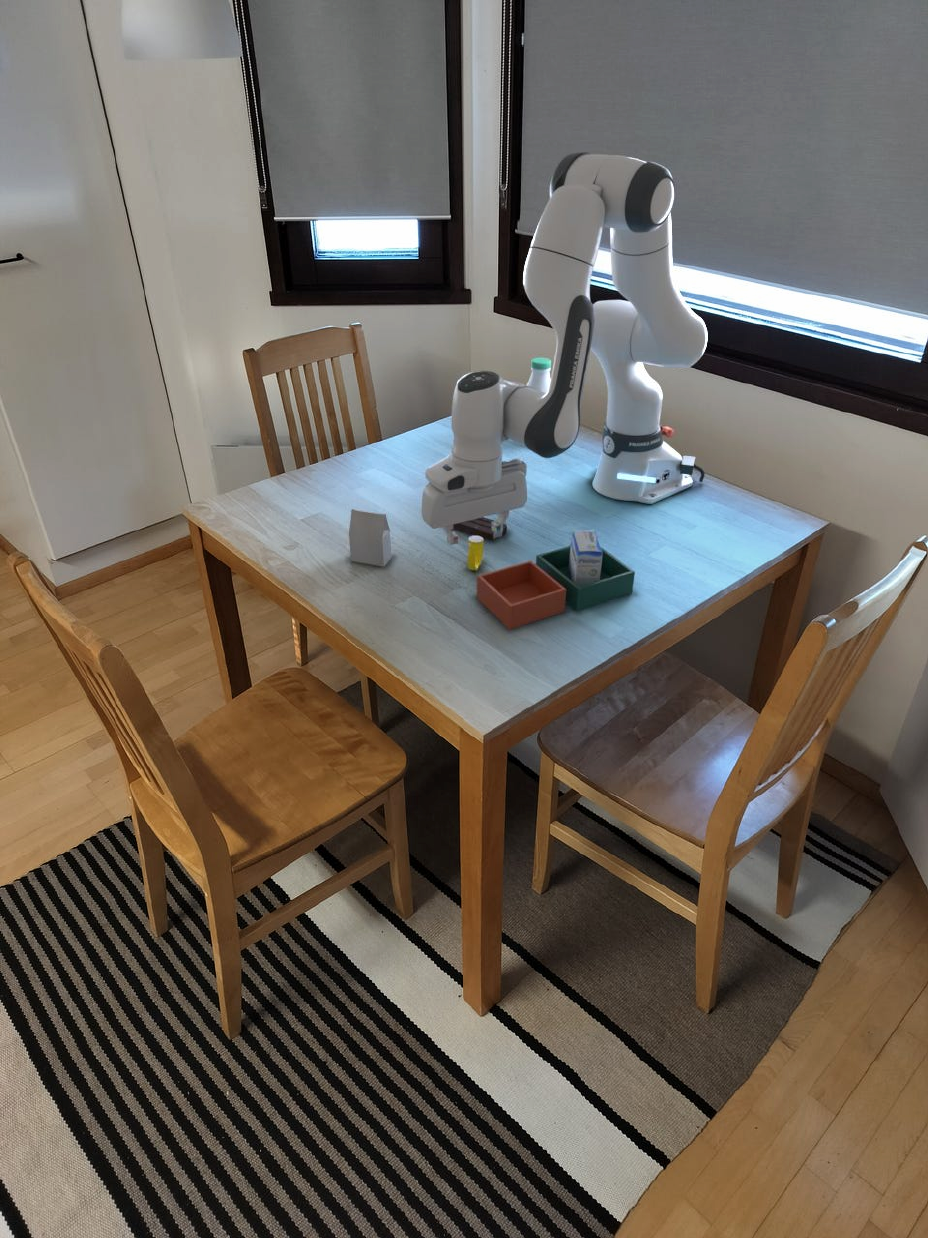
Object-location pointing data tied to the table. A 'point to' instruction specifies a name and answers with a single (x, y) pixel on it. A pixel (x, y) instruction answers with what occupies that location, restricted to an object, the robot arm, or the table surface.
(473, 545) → the watch
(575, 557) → the medicine box
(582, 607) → the green bin
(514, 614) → the terracotta bin
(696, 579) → the table surface
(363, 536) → the tea bag
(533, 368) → the milk bottle
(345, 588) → the table surface
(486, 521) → the ice cream bar
